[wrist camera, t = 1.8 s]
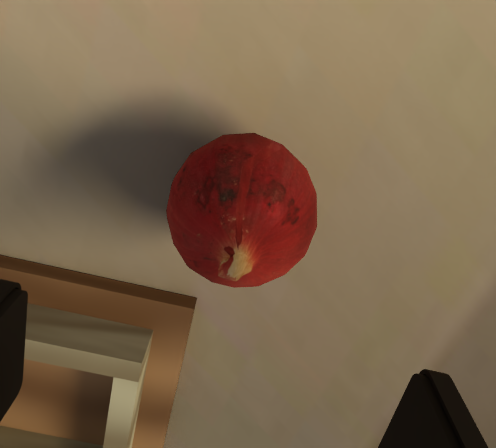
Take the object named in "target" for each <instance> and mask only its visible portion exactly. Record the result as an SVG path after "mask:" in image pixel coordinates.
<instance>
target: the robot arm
mask: <svg viewBox="0 0 496 448" xmlns="http://www.w3.org/2000/svg"><path fill="white" fill-rule="evenodd" d="M27 303H28V293H27V291H24V290H21V285H20V283H17V282H13V281H8V280H3V279H0V422H1V420H2V419H3V417H4V416H5V414H6V413H7V411H8V410H9V408H10V407H11V405H12V403H13V402H14V400H15V399H16V397H17V396H18V394H19V391H20V389H21V386H22V382H23V370H24V353H25V337H26V320H27ZM378 448H488V446H487V444H486V443H485V441H484V439H483V437H482V435H481V433H480V431H479V429H478V428H477V426H476V424H475V422H474V420H473V418H472V416H471V414H470V412H469V411H468V409H467V407H466V405H465V403H464V401H463V399H462V397H461V396H460V394H459V392H458V390H457V388H456V386H455V384H454V382H453V381H452V379H451V377H450V376H449V375H448V374H445V373H441V372H436V371H431V370H426V369H424V370H422V371H421V372H420V373H419V374H414V375H413V376H412V378H411V380H410V382H409V384H408V386H407V388H406V390H405V392H404V394H403V396H402V399H401V401H400V403H399V405H398V407H397V409H396V411H395V413H394V415H393V417H392V419H391V422H390V424H389V426H388V428H387V430H386V432H385V434H384V436H383V438H382V440H381V442H380V445H379V447H378Z"/></svg>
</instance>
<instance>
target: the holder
mask: <svg viewBox="0 0 496 448" xmlns="http://www.w3.org/2000/svg"><path fill="white" fill-rule="evenodd" d="M0 279H3V280H8V281H13V282H17V283H20V285H21V290H24V291H27V293H28V303H27V320H26V337H25V353H24V370H23V382H22V386H21V389H20V391H19V394H18V396H17V397H16V399H15V400H14V402H13V403H12V405H11V407H10V408H9V410H8V411H7V413H6V414H5V416H4V417H3V419H2V420H1V422H0V448H163V445H164V440H165V436H166V432H167V427H168V423H169V418H170V414H171V410H172V405H173V401H174V396H175V392H176V388H177V383H178V379H179V374H180V370H181V366H182V361H183V357H184V352H185V348H186V344H187V339H188V335H189V330H190V326H191V322H192V317H193V313H194V308H195V304H196V300H197V298H194V297H190V296H185V295H181V294H176V293H172V292H167V291H162V290H158V289H153V288H149V287H144V286H140V285H135V284H130V283H126V282H121V281H117V280H112V279H107V278H103V277H98V276H94V275H89V274H85V273H80V272H75V271H71V270H66V269H62V268H57V267H53V266H48V265H43V264H39V263H34V262H30V261H25V260H20V259H16V258H11V257H7V256H2V255H0Z"/></svg>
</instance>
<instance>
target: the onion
mask: <svg viewBox="0 0 496 448" xmlns="http://www.w3.org/2000/svg"><path fill="white" fill-rule="evenodd" d="M166 212H167V219H168V223H169V227H170V232H171V236H172V240H173V244H174V245H175V247H176V248H177V250H178V252H179V253H180V255H181V257H182V258H183V260H184V261H185V263H186V265H187V266H188V267H189V268H190V269H192V270H193V271H195V272H197V273H198V274H200V275H201V276H203V277H205V278H206V279H208V280H210V281H211V282H214V283H218V284H222V285H226V286H230V287H254V286H260V285H262V284H264V283H267V282H269V281H271V280H274V279H276V278H278V277H281V276H283V275H285V274H286V273H287V272H288V271H289V270H290V269H291V268H292V267H293V266H294V265H295V264H297V263H298V262H299V261H300V260H301V259H302V258H303V257H304V256H305V254H306V252H307V250H308V247H309V245H310V242H311V240H312V237H313V235H314V233H315V230H316V228H317V196H316V191H315V189H314V186H313V184H312V181H311V179H310V176H309V174H308V171H307V169H306V168H305V167H304V166H303V165H302V164H301V163H300V162H299V161H298V160H297V159H296V158H295V157H294V156H293V155H292V154H291V153H290V152H289V151H288V150H287V149H286V148H285V147H284V146H283V145H282V144H280V143H277V142H275V141H272V140H270V139H268V138H265V137H263V136H260V135H258V134H256V133H246V134H229V135H222V136H220V137H219V138H217V139H215V140H213V141H211V142H210V143H208V144H206V145H204V146H203V147H201V148H199V149H197V150H196V151H194V152H192V153H191V154H190V155H189V157H188V158H187V160H186V161H185V163H184V164H183V166H182V167H181V168H180V170H179V171H178V173H177V174H176V176H175V178H174V180H173V182H172V185H171V190H170V195H169V200H168V205H167V210H166Z"/></svg>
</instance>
